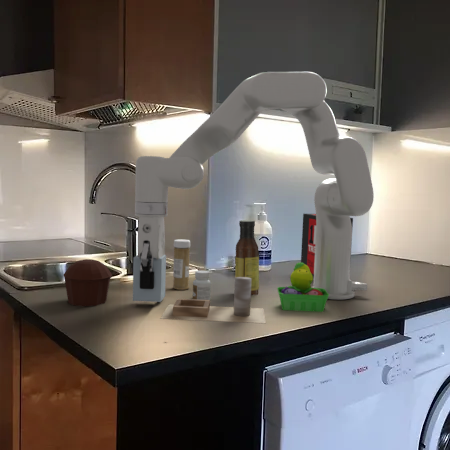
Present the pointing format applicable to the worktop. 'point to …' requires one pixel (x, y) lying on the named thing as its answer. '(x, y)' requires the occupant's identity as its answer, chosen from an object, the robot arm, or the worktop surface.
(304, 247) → the cleaning product box
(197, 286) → the pill bottle
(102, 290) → the muffin
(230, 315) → the board
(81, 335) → the worktop surface
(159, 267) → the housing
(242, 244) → the sauce bottle
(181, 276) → the sprinkles bottle
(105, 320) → the worktop surface
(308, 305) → the fruit basket
